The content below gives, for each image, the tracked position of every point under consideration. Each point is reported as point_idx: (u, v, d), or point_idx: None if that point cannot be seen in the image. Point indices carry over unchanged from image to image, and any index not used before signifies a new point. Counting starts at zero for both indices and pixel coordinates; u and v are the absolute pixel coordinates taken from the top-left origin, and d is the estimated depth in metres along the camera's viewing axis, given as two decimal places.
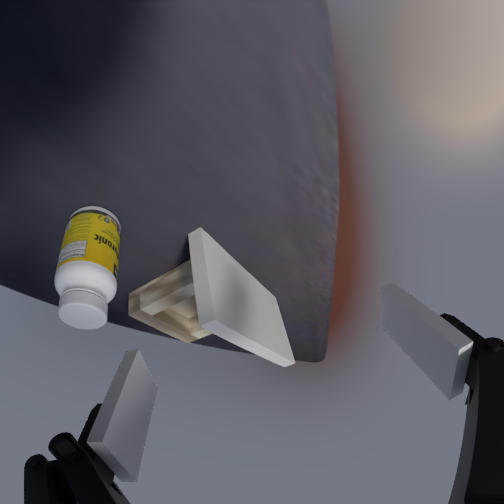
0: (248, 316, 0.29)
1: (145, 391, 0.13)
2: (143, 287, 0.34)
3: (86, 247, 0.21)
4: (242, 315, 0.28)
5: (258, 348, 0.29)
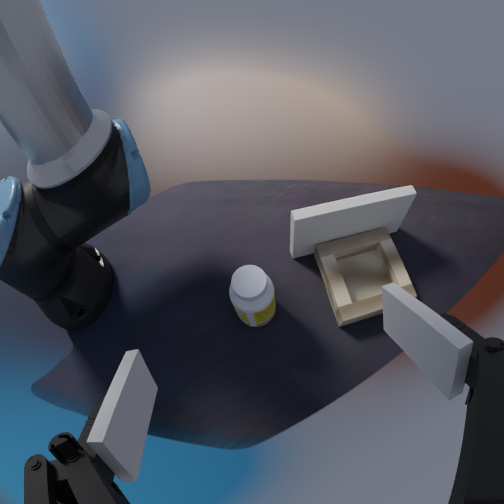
0: None
1: (145, 391, 0.13)
2: (333, 309, 0.40)
3: None
4: None
5: (356, 200, 0.37)
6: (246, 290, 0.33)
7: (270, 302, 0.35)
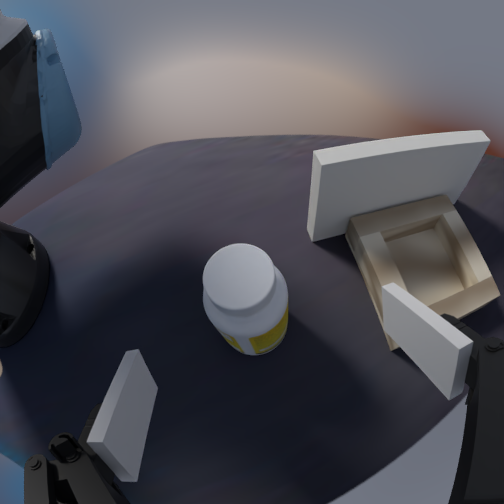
0: None
1: (145, 391, 0.13)
2: (381, 321, 0.23)
3: None
4: None
5: (415, 140, 0.20)
6: (233, 294, 0.16)
7: (281, 316, 0.18)
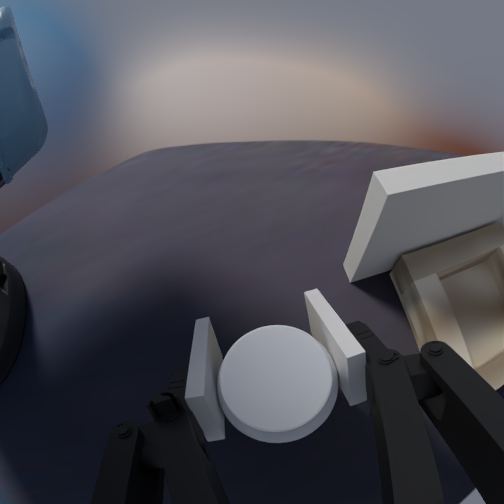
0: None
1: (217, 356, 0.15)
2: None
3: None
4: None
5: (488, 160, 0.13)
6: (269, 410, 0.09)
7: (328, 414, 0.12)
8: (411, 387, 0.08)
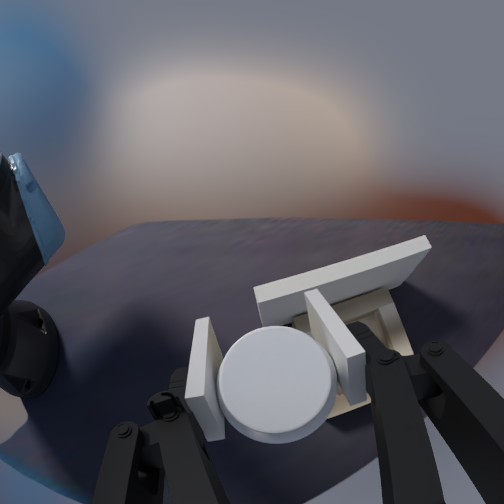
0: None
1: (217, 356, 0.15)
2: None
3: None
4: None
5: (347, 266, 0.26)
6: (268, 411, 0.09)
7: (328, 414, 0.12)
8: (411, 387, 0.08)
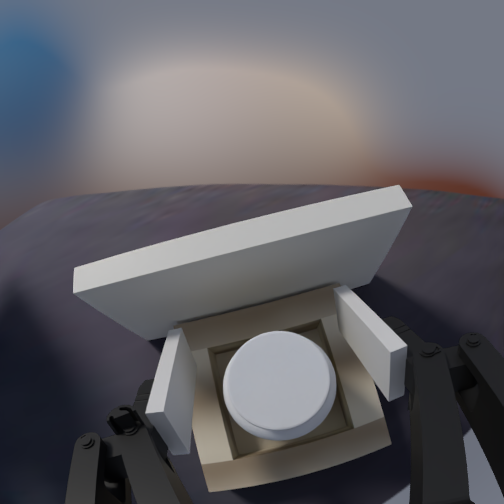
0: None
1: (189, 368, 0.15)
2: None
3: None
4: None
5: (230, 234, 0.14)
6: (272, 409, 0.10)
7: None
8: (450, 381, 0.07)
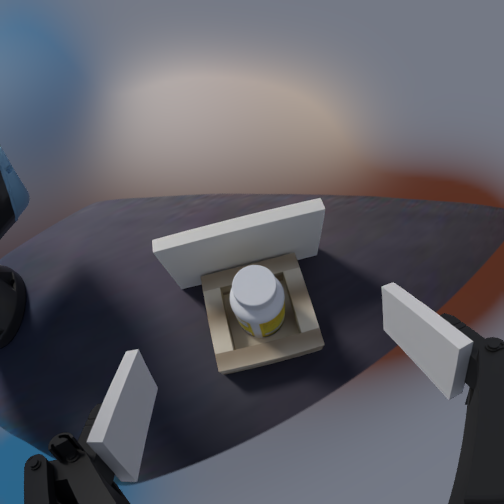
0: None
1: (145, 391, 0.13)
2: None
3: None
4: None
5: (233, 223, 0.30)
6: (251, 296, 0.26)
7: (280, 310, 0.29)
8: None
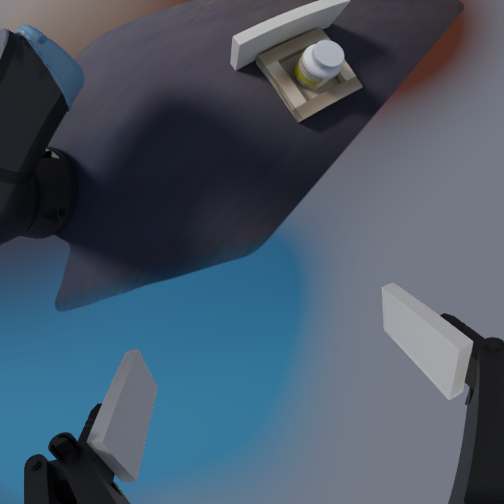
0: None
1: (145, 391, 0.13)
2: (288, 108, 0.41)
3: (300, 57, 0.34)
4: None
5: (293, 13, 0.29)
6: (331, 60, 0.31)
7: (340, 67, 0.34)
8: None
